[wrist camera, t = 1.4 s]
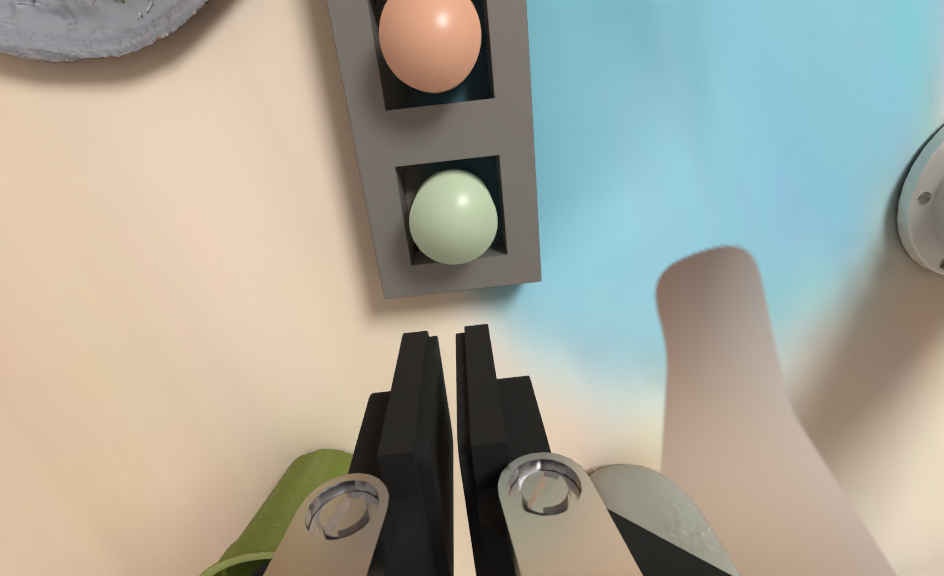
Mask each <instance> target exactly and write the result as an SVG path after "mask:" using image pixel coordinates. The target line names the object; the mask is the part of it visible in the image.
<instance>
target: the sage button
mask: <svg viewBox="0 0 944 576" xmlns="http://www.w3.org/2000/svg"><path fill="white" fill-rule="evenodd" d="M497 224H498V219H497V212H496V208H495V205H494V203H493V201H492V198H491V196H490V193H489V191H488V189H487V187H486V185H485V184H484V183H483V181H482V180H481V179H480V178H479V177H477V176H476V175H475V174H473V173H471V172H469V171H467V170H464V169H460V168H447V169H442V170H439V171H437V172H435V173H433V174H432V175H430V176H429V177H428V178H427V179H425V181H424V182H423V183H422V184H421V186H420V188H419V190H418V192H417V194H416V197H415V199H414V202H413V204H412V207H411V210H410V216H409V226H410V231H411V235H412V238H413V240H414V242H415V243H416V245H417V246H418V248H419V249H420V250H421V251H422V252H423V253H424V254H425V255H426V256H428V257H429V258H431V259H433V260H435V261H437V262H440V263H444V264H451V265H456V264H463V263H467V262H470V261H472V260H474V259H476V258H478V257H479V256H481V255H482V254H483V253H484V252H485V251H486V250H487V249H488V248H489V246H490V245H491V243H492V242H493V240H494V237H495V235H496V231H497Z"/></svg>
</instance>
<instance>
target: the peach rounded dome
mask: <svg viewBox="0 0 944 576" xmlns="http://www.w3.org/2000/svg"><path fill="white" fill-rule="evenodd" d="M379 40H380V46H381V50H382V53H383V56H384V58H385V60H386V62H387V64H388V66H389V67H390V69H391V70H392V71H393V73H394V74H395V75H396V76H397V77H398V78H399V79H400V80H401V81H403V82H404V83H405V84H407V85H409V86H411V87H413V88H415V89H418V90H420V91H423V92H427V93H443V92H447V91H449V90H452V89H454V88H455V87H457V86H458V85H460V84H461V83H462V82H463V81H464V80H465V79H466V78H467V76H468V75H469V73H470V72H471V70H472V68H473V67H474V65H475V63H476V60H477V58H478V55H479V51H480V46H481V26H480V21H479V17H478V14H477V12H476V9H475V7H474V5H473V4H472V2H471V0H387V2H386V4H385V6H384V9H383V11H382V14H381V18H380V24H379Z"/></svg>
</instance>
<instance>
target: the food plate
mask: <svg viewBox="0 0 944 576" xmlns="http://www.w3.org/2000/svg"><path fill="white" fill-rule="evenodd" d="M208 2H209V1H208V0H0V53H3V54H5V55H8V54H9V55H12V56H14V57H19V58H24V59H29V60H43V61H48V62H52V63H53V62H54V63H56V62H58V61H60V62H62V61H64V62H68V61H70V62H71V61H75V62H76V61H78V59H83V58H88V57H89V58H93V59H94V58H99V57H101V58H103V57H106V58H107V57H108V56H110V57H111V56H113V57H116V56H117V57H121V55H123V54H124V53H125V55H126V54H128V53H131V52H135V51H139V50H140V49H141V48H142V47H145V46H148V45H150V44H154V42H155V41H157V40H160V39H161V38H163V37H168V36H167V35H169V34H170V32H171V34H173V33H175V32H174V31H176V30H177V29H178V28H179V27H180V26H182V25H184V24H185V23H186V22H187V20H188V19H190V18H191V17H192V16H194V14H196V13H197V12H198V11H199V10H200V9H202V8H203V7H204V6H205V3H208ZM171 34H170V35H171ZM61 60H62V61H61Z"/></svg>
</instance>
